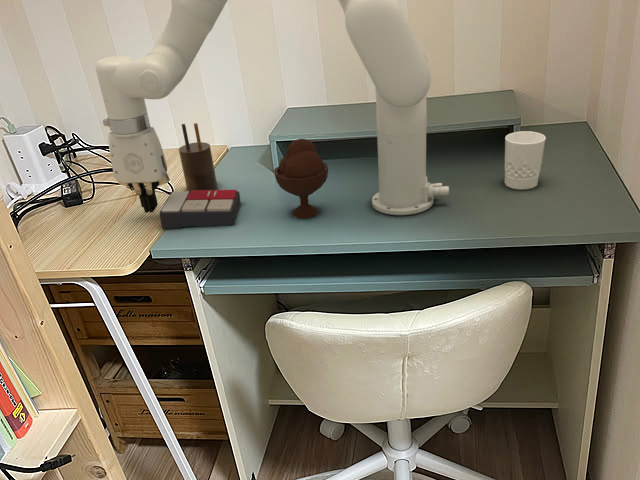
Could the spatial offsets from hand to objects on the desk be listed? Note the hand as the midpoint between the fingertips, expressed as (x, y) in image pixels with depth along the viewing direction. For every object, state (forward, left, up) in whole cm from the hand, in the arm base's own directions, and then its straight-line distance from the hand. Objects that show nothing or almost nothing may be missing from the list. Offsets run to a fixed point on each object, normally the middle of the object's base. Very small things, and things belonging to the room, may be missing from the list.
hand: (150, 209), depth 137 cm
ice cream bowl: (-33, 0, -2) cm, 33 cm away
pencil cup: (-7, -15, -2) cm, 17 cm away
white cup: (-78, -11, -2) cm, 79 cm away
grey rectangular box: (-11, 0, -2) cm, 11 cm away
